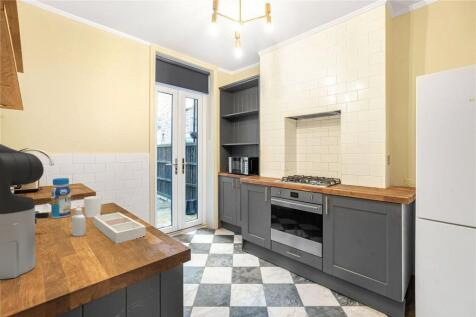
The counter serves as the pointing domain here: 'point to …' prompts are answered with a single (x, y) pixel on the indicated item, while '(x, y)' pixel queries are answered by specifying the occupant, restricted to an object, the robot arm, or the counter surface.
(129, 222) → the rack
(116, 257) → the counter surface
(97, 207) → the white cup
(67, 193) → the beverage bottle
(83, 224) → the eye dropper bottle
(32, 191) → the counter surface
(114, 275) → the counter surface
